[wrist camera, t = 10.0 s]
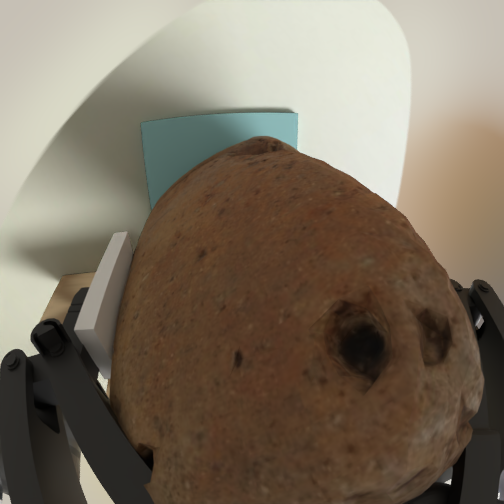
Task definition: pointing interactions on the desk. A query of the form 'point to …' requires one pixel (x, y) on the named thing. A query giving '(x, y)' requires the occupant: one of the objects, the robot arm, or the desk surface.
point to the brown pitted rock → (289, 340)
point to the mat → (203, 141)
